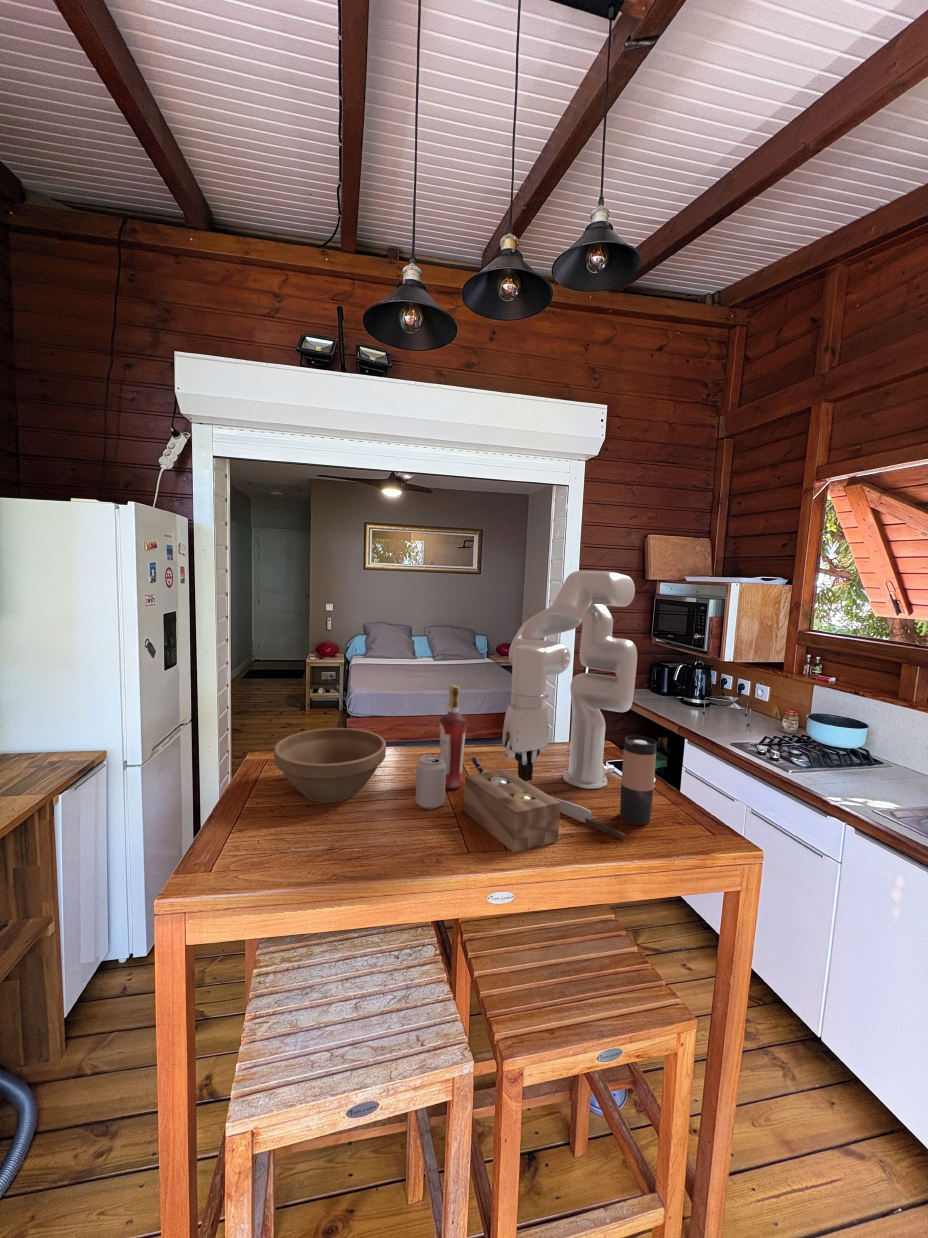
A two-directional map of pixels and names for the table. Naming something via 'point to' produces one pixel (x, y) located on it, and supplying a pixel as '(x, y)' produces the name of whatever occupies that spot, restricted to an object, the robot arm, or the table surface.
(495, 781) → the steel peg
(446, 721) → the liquor
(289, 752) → the brown mixing bowl
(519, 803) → the socket block
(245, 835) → the table surface
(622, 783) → the travel mug
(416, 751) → the table surface
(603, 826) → the kitchen knife
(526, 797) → the brass peg
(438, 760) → the can
